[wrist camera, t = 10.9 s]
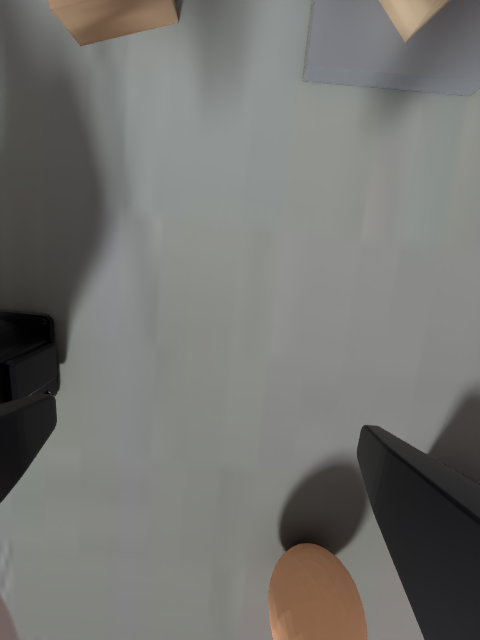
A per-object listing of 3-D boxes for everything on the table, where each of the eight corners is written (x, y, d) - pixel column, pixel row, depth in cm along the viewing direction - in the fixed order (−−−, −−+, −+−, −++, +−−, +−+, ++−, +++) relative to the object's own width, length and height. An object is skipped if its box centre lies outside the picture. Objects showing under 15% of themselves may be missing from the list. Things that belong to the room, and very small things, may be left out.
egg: (249, 557, 26) (250, 709, 18) (298, 506, 25) (325, 644, 16) (310, 593, 27) (339, 757, 18) (360, 546, 26) (417, 699, 17)
